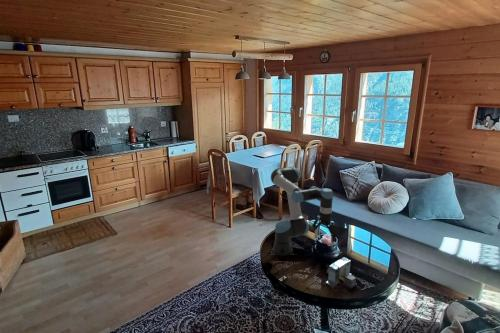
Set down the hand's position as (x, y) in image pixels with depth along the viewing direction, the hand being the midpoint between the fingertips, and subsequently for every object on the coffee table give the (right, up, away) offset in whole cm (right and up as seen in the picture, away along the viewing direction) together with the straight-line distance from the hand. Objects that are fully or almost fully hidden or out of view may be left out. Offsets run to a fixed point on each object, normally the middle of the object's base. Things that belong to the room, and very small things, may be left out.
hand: (323, 241), depth 193 cm
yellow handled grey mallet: (+9, -24, -5) cm, 26 cm away
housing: (+9, -23, -5) cm, 25 cm away
